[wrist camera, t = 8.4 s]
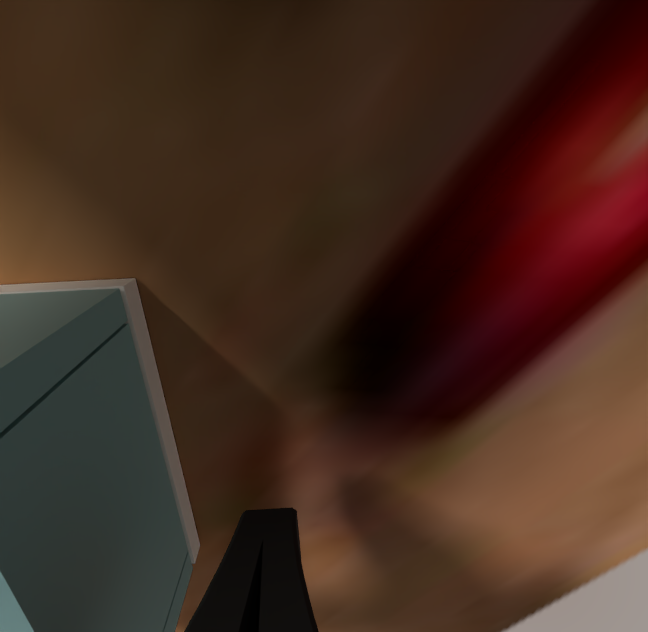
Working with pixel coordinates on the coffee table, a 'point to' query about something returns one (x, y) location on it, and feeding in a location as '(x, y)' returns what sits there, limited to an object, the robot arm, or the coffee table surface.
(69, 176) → the coffee table surface
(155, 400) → the base plate
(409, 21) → the coffee table surface
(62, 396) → the cover
